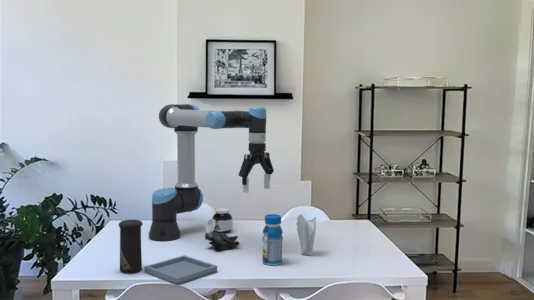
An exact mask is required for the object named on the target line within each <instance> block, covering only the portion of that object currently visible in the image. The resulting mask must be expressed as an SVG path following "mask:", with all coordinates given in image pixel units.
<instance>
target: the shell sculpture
mask: <svg viewBox="0 0 534 300" xmlns="http://www.w3.org/2000/svg"><path fill="white" fill-rule="evenodd" d="M296 220H297V221H296V226H297V227H296V231H297V235H298V236H297V237H298V238H299V239H298V240H299V243H300V247H301V251H300V254H301V255H304V256H311V255H312V254H313V253H314V250H313V249H314V244H315V237H316V229H317V226H316V225H317V217H316V216H314V217H312V219H310V220H307V219H306V218H305V217H304V215H303V214H299V215H298V216H297V217H296Z"/></svg>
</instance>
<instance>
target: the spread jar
mask: <svg viewBox="0 0 534 300" xmlns="http://www.w3.org/2000/svg"><path fill="white" fill-rule="evenodd" d="M233 222H234V221H233V216H232V214H230V209H229V208H227V207H223V208H222V207H219V208H216V209H215V213H214V214H213V216H212V219H209V220H208V221H206V226H205V231H206V233H210V234H212V233H221V232H223V233H224V234H228V233H230V232H231V231H232V229H233Z"/></svg>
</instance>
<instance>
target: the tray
mask: <svg viewBox="0 0 534 300" xmlns="http://www.w3.org/2000/svg"><path fill="white" fill-rule="evenodd" d="M143 269H144V273H145V274H146V275H149V276H152V277H155V278H158V279H160V280H162V281H166V282H168V283H171V284H174V285H176V286H179V285H182V284H185V283H189V282H192V281H194V280H198V279H201V278H205V277H206V276H209V275H213V274H216V273H218V265H216V264H213V263H211V262H210V263H209V262H205V261H204V260H200V259H196V258H193V257H191V256H187V255H181V256H177V257H173V258H169V259H166V260H162V261H158V262H156V263H151V264H149V265H145V266H144V268H143Z"/></svg>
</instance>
